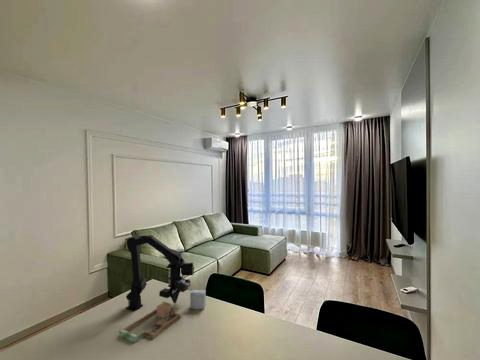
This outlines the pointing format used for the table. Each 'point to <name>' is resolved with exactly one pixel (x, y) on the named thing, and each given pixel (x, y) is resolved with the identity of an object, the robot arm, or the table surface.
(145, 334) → the trap lane
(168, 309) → the block
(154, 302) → the table surface
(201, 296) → the medicine box
